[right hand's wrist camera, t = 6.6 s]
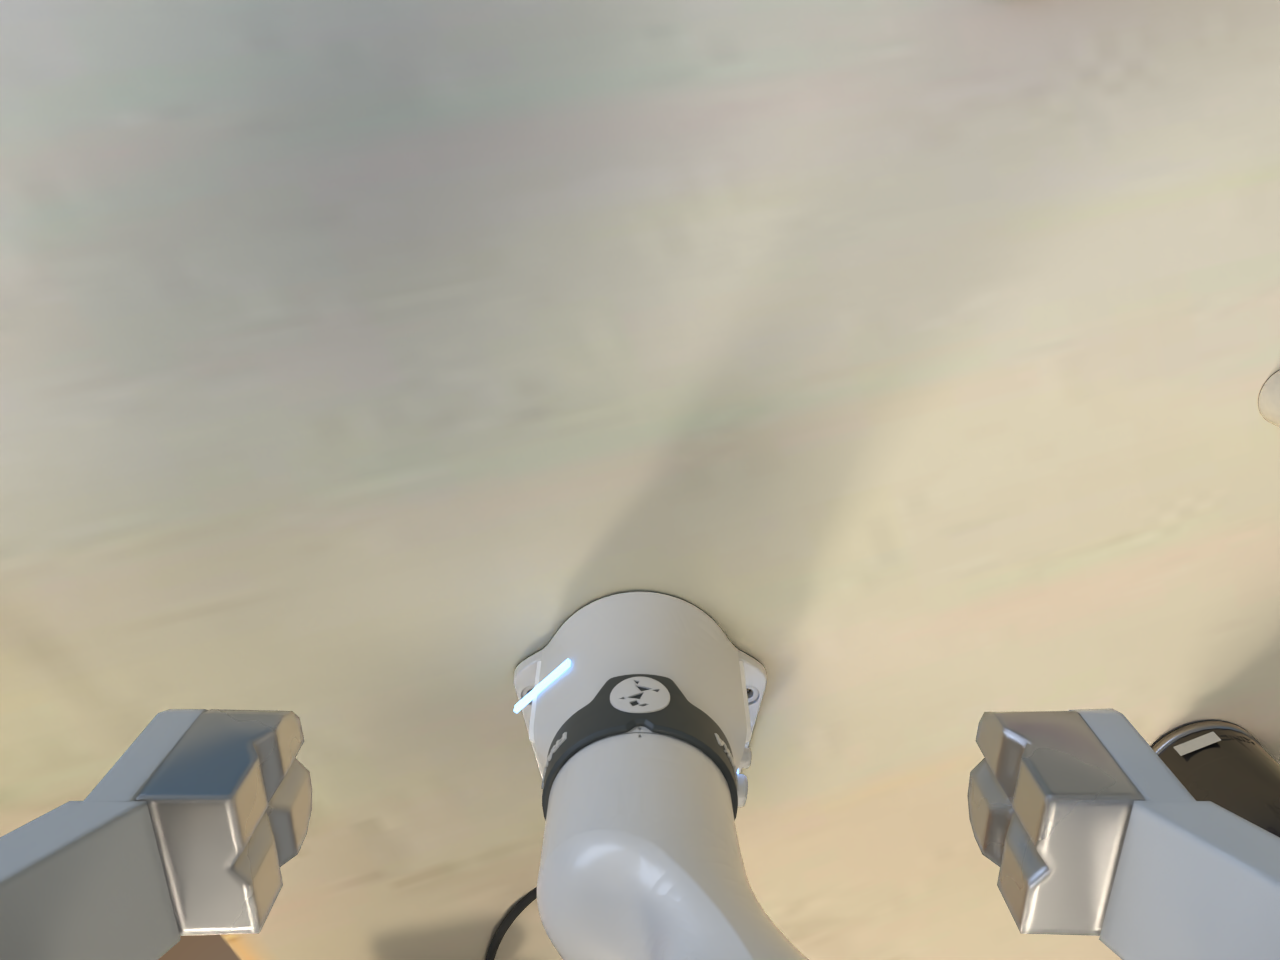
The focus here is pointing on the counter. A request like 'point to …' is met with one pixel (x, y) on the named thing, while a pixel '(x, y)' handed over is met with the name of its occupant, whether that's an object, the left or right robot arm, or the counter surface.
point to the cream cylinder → (1271, 399)
